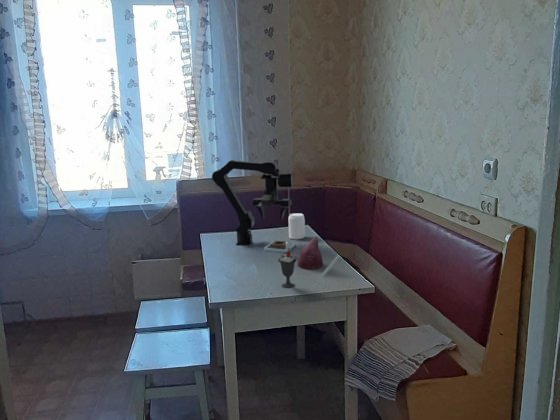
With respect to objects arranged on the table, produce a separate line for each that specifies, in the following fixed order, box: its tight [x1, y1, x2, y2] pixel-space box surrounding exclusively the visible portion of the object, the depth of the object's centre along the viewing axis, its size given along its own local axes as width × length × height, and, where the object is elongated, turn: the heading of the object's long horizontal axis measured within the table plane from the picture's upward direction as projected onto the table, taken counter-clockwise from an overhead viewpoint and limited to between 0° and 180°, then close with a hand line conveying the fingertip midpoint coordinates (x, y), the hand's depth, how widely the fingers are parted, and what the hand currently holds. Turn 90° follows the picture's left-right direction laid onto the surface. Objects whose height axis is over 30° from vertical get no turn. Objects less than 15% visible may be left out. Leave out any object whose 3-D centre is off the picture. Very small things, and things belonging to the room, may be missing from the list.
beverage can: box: [288, 212, 306, 240], centre depth 250 cm, size 8×8×12 cm
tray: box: [263, 241, 296, 253], centre depth 230 cm, size 11×11×2 cm
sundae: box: [278, 248, 297, 289], centre depth 183 cm, size 7×7×15 cm
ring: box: [269, 240, 288, 249], centre depth 229 cm, size 7×6×3 cm
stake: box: [280, 240, 297, 259], centre depth 217 cm, size 7×7×8 cm
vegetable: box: [297, 235, 324, 271], centre depth 203 cm, size 10×10×15 cm
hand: (272, 219), depth 239 cm, fingers open, 9 cm apart
